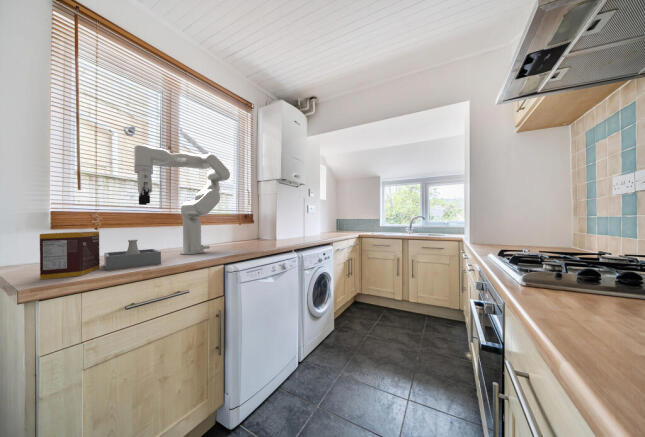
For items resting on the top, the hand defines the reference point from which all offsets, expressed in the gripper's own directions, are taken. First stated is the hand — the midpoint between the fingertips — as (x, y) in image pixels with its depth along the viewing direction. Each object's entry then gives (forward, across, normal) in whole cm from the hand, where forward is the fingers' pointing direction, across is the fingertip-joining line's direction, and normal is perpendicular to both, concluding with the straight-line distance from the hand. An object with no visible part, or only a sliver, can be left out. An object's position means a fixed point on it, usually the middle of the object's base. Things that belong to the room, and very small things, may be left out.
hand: (144, 204), depth 116 cm
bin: (+28, -12, +6) cm, 31 cm away
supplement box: (+29, -18, +24) cm, 41 cm away
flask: (+28, -12, +6) cm, 31 cm away
